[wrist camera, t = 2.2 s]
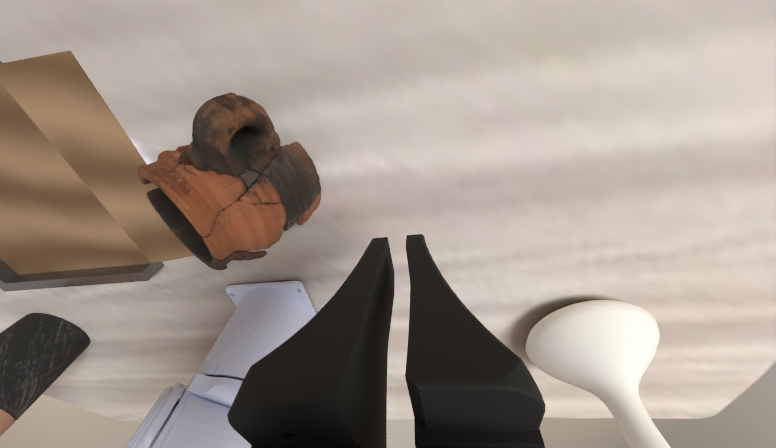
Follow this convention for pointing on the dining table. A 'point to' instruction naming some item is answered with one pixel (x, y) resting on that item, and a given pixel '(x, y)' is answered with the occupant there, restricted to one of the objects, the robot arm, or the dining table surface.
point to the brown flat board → (70, 176)
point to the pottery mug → (232, 183)
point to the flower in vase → (602, 358)
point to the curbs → (75, 276)
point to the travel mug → (34, 360)
